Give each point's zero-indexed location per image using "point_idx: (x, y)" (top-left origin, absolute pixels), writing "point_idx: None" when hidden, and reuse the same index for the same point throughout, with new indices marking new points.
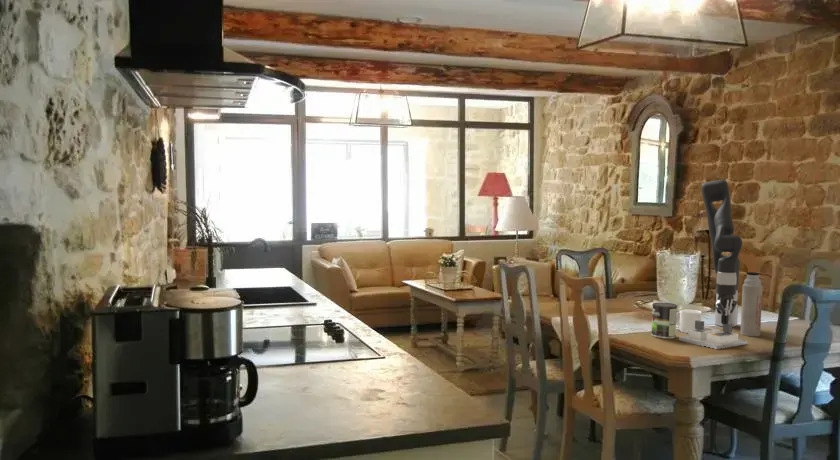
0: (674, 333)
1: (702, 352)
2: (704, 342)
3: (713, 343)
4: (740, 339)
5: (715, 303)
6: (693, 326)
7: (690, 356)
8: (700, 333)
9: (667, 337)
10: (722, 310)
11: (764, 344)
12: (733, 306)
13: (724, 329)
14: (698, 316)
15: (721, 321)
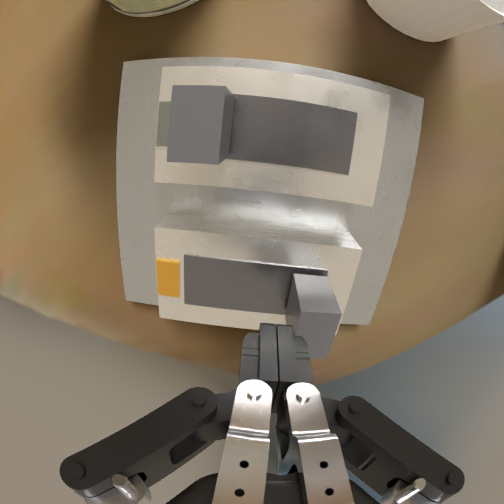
0: (160, 3)
1: (54, 279)
2: (127, 229)
3: (152, 268)
4: (372, 298)
5: (69, 482)
6: (397, 3)
7: (3, 280)
8: (157, 174)
9: (121, 11)
10: (170, 453)
11: (406, 345)
12: (365, 481)
13: (292, 296)
14: (464, 7)
15: (243, 339)
